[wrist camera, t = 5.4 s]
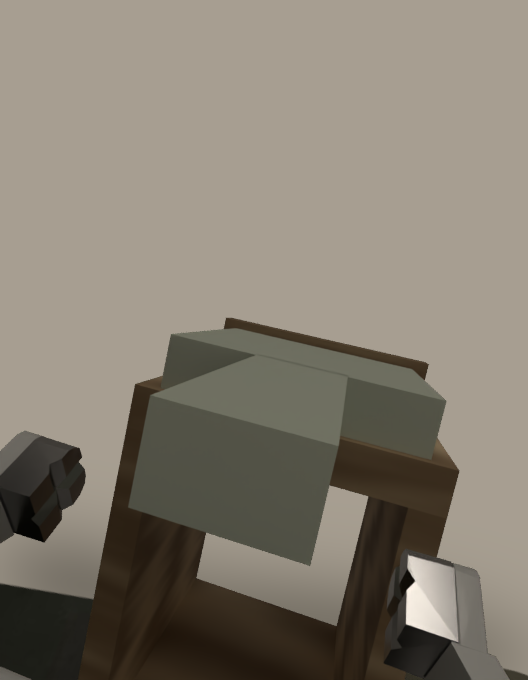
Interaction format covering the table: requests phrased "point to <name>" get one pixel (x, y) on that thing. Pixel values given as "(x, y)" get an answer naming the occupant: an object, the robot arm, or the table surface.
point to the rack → (246, 612)
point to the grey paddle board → (268, 433)
